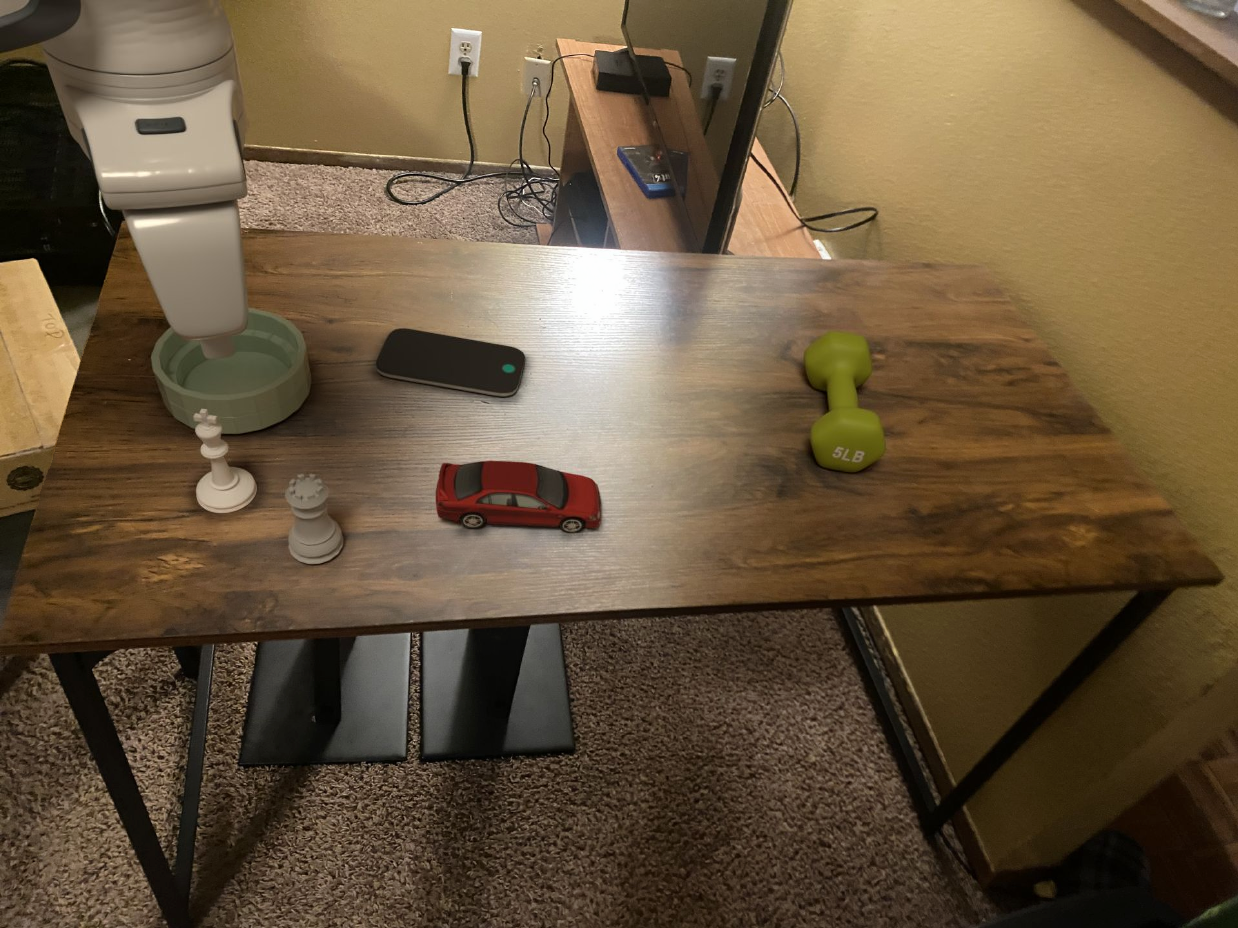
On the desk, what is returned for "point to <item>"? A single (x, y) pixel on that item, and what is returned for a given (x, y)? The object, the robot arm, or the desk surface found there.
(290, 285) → the desk surface
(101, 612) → the desk surface
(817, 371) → the dumbbell
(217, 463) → the chess piece
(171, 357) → the bowl
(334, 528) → the rook chess piece
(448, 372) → the smartphone
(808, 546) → the desk surface
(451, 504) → the toy car
